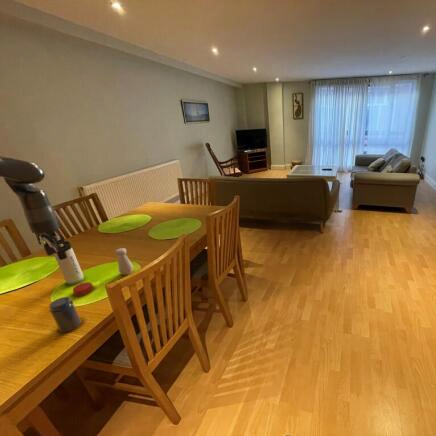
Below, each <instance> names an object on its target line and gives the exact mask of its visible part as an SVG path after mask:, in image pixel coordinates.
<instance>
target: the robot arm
mask: <svg viewBox="0 0 436 436" xmlns="http://www.w3.org/2000/svg"><path fill="white" fill-rule="evenodd" d="M45 176H46V174H45V171H44V170H43V168H42V167H40V166H39V165H37V164H35V163H33V162H30V161H26V160H22V159H17V158H13V157H9V156H8V157H7V156H4V155H0V178H3V180H4V182H5V183H6V184H7V186H8V187H9V188H10V190H11V191H12V192H13V194H15V195H16V197H17V198H18V200H19V203H20V205H21V208H22V211H23V215H24V218H25V219H26V223H27V224H28V226H29V230H30V231H31V233H33V234H34V235H35V237H36V240H37V242H38V245H40V246H42V248H43V249H44V251H45V254H46V255H47V256H53V255H54V254H55V251H56V253H57V255H58V258H59V259H60V260H63V259H66V258H67V255H66V253H65V250H64V249H67V246H66V244H65V241H66V240H65V239H64V236H63V235H62V233H60V234H59V233H57V232H56V230H58V229H59V228H60V224H59V221H58V218H57V216H56V215H57V214H56V213H55V210H54V208H53V207H52V205H51V203H50V200H49V198H48V195H47V193H46V191H45V190H43V189H41V188H38V187H37V186H35V184H39V183H41V182H42V181H43V180H44V179H45ZM54 243H55V244H54ZM62 244H63V245H62ZM59 245H60V247H59ZM53 248H54V249H55V251H54V249H53Z"/></svg>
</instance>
